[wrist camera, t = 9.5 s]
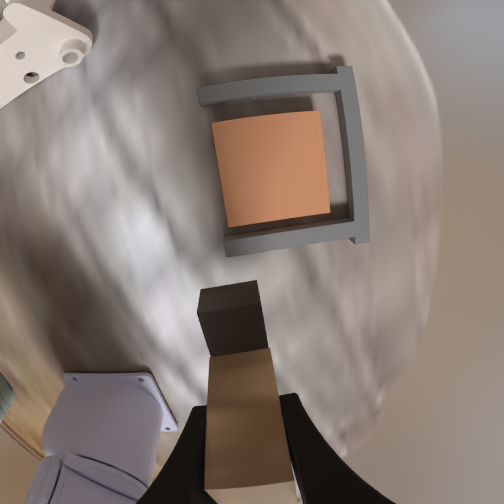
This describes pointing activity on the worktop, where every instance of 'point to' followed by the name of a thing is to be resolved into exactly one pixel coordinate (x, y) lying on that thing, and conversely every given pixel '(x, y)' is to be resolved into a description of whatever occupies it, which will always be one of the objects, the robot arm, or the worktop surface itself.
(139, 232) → the worktop surface
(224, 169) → the tile
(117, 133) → the worktop surface
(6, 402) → the spray paint can
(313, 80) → the frame
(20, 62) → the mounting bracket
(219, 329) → the two-tone stacked blocks
